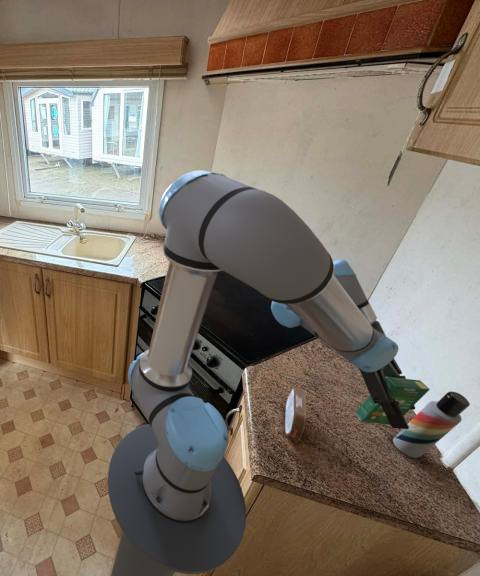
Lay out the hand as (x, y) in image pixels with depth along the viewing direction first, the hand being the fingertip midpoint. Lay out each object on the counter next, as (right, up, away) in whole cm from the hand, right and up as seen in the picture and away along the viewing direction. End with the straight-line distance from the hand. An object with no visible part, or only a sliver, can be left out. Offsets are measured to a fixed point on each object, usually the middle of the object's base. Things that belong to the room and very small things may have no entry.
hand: (403, 417), depth 69 cm
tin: (-17, -7, +14) cm, 24 cm away
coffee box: (-3, -2, +5) cm, 6 cm away
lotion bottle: (+11, -12, +10) cm, 19 cm away
